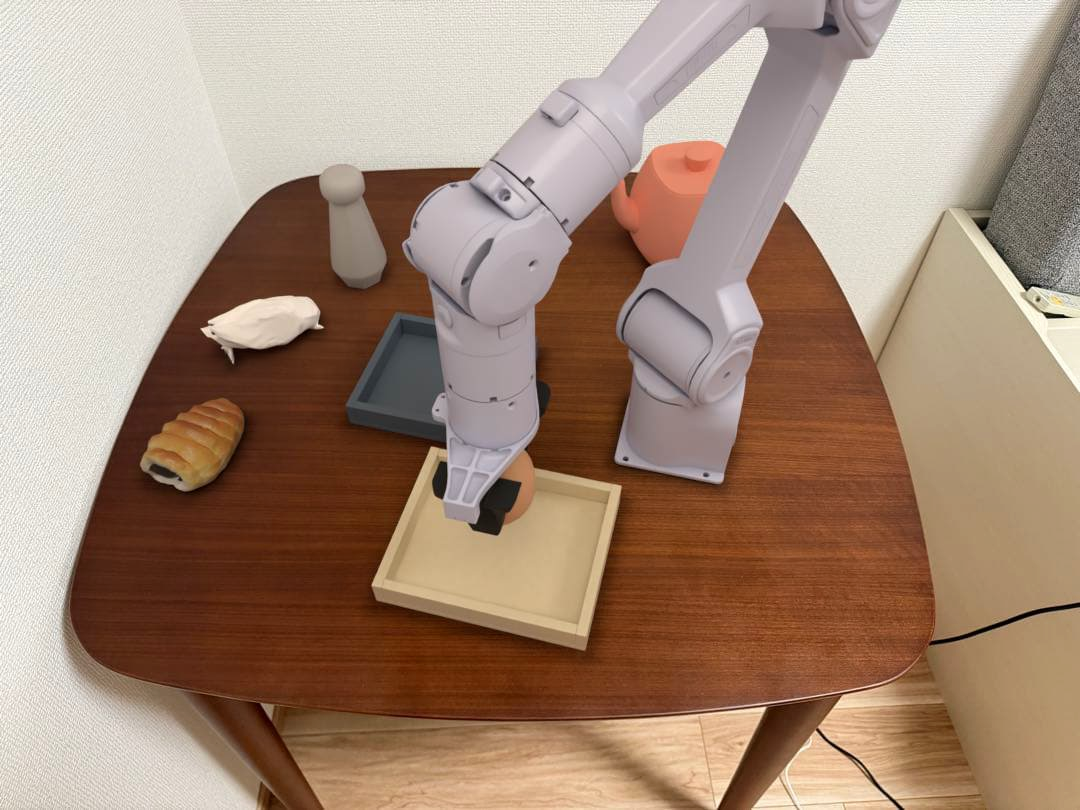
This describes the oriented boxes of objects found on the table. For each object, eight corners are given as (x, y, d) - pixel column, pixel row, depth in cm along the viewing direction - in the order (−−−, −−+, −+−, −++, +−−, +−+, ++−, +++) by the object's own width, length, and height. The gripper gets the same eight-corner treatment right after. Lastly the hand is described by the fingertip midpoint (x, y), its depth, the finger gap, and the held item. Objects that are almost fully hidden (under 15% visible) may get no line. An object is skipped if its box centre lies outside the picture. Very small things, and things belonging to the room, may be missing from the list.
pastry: (206, 402, 77) (193, 374, 74) (267, 423, 75) (256, 396, 72) (139, 478, 71) (122, 451, 68) (203, 503, 70) (188, 477, 67)
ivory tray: (619, 502, 69) (621, 485, 67) (585, 651, 61) (586, 636, 59) (434, 463, 72) (431, 446, 70) (376, 600, 64) (371, 585, 62)
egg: (530, 475, 64) (528, 407, 58) (541, 538, 61) (541, 472, 54) (457, 485, 64) (447, 417, 57) (464, 549, 60) (454, 483, 54)
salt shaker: (379, 298, 86) (357, 193, 76) (327, 291, 87) (299, 186, 77) (396, 262, 90) (377, 158, 80) (347, 256, 90) (322, 152, 80)
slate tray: (538, 355, 80) (538, 337, 79) (502, 454, 73) (501, 437, 71) (398, 329, 83) (395, 311, 81) (349, 423, 75) (344, 405, 73)
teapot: (576, 221, 94) (579, 126, 85) (743, 202, 96) (764, 107, 87) (601, 299, 86) (608, 202, 76) (784, 276, 88) (812, 179, 78)
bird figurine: (250, 387, 80) (333, 325, 82) (207, 340, 75) (297, 275, 77) (233, 364, 83) (314, 305, 85) (192, 317, 78) (278, 256, 80)
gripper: (463, 280, 55) (476, 409, 66) (384, 446, 46) (413, 565, 57) (565, 298, 54) (561, 426, 64) (504, 471, 45) (511, 588, 55)
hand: (498, 493), depth 60 cm, fingers closed on egg, 6 cm apart
